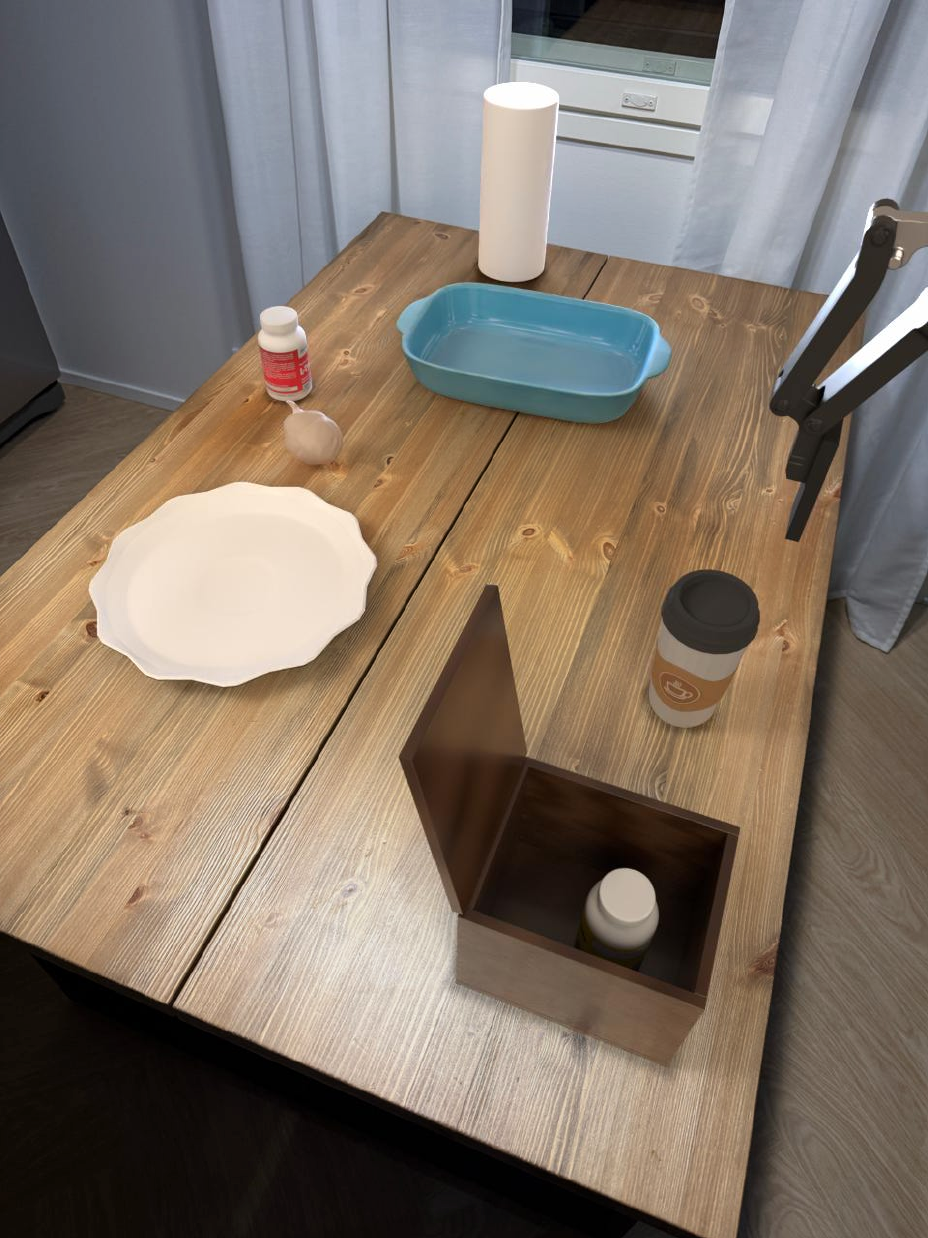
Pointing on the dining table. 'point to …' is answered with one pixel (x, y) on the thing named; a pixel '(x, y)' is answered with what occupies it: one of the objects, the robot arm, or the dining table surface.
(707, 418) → the dining table surface
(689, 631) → the coffee cup
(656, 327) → the casserole dish
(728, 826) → the chest
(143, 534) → the plate
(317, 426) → the garlic bulb
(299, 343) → the pill bottle
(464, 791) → the lid
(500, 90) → the tall pillar cylinder
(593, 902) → the supplement bottle
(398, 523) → the dining table surface
